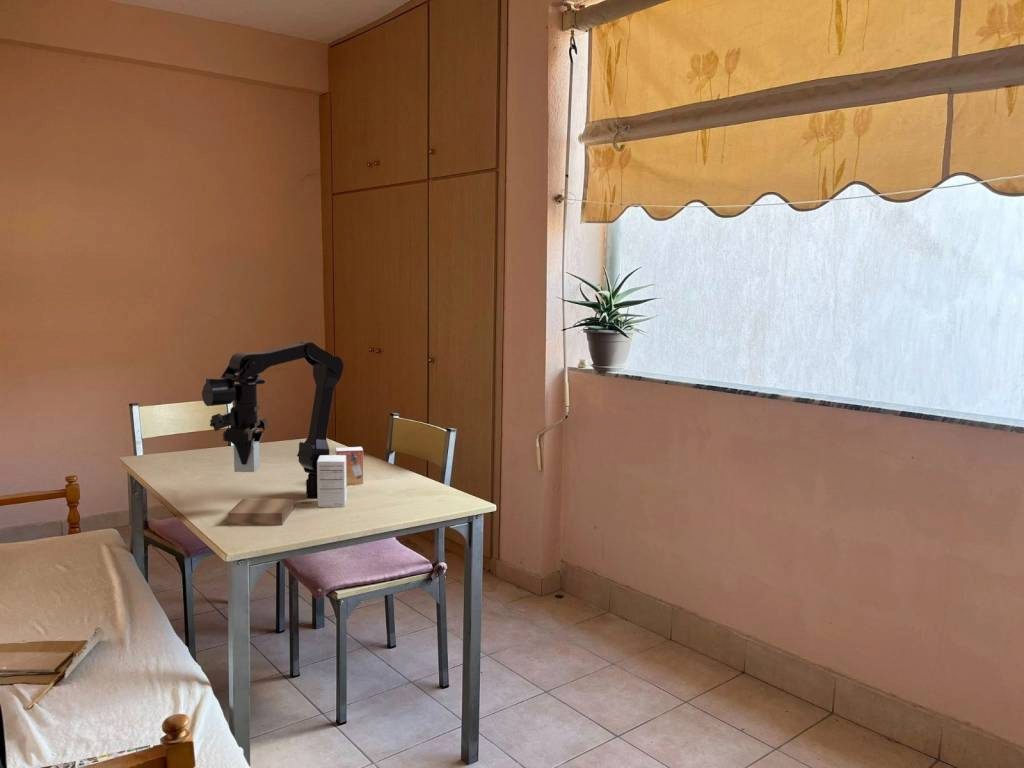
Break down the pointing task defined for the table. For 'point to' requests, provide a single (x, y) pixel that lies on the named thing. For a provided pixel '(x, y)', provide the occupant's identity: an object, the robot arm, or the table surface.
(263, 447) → the table surface
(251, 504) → the walnut base
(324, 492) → the supplement box
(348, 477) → the small box
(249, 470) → the grey block
